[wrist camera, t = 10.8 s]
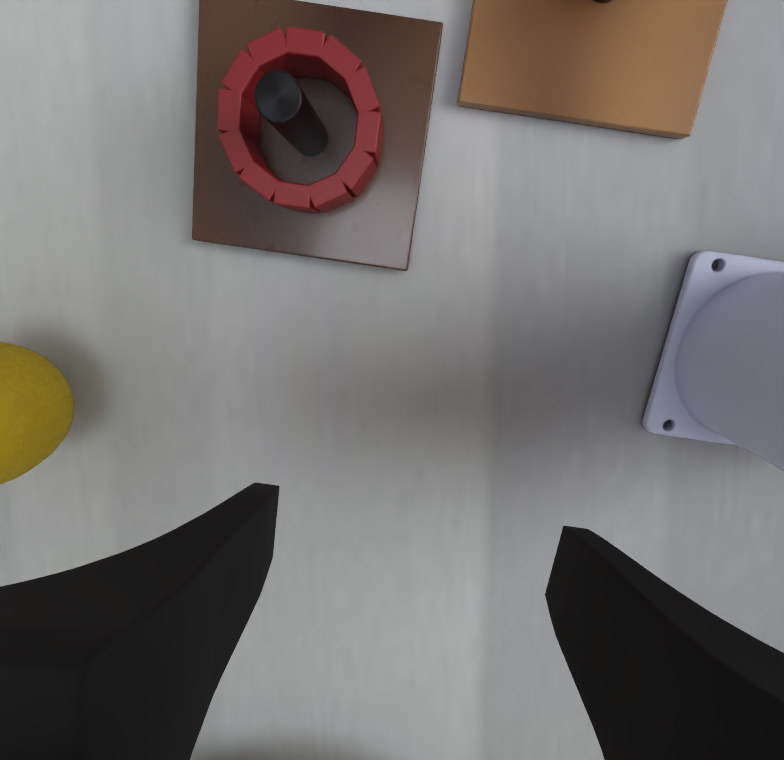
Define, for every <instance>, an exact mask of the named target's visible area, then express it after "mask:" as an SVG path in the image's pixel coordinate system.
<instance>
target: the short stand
mask: <svg viewBox="0 0 784 760" xmlns="http://www.w3.org/2000/svg"><path fill="white" fill-rule="evenodd" d="M726 3H727V0H473V7H472V13H471V19H470V26H469V32H468V38H467V45H466V51H465V57H464V64H463V70H462V76H461V83H460V89H459V96H458V102H457V104H458V105H459V106H464V107H471V108H478V109H484V110H491V111H498V112H504V113H511V114H518V115H524V116H531V117H538V118H545V119H551V120H558V121H565V122H571V123H578V124H585V125H591V126H598V127H605V128H612V129H618V130H625V131H632V132H638V133H645V134H652V135H658V136H665V137H672V138H679V139H683V138H685V137H688V136H690V134H691V131H692V127H693V123H694V120H695V116H696V112H697V109H698V105H699V102H700V98H701V94H702V91H703V87H704V83H705V80H706V76H707V72H708V69H709V65H710V61H711V58H712V54H713V51H714V47H715V43H716V40H717V36H718V32H719V29H720V25H721V21H722V18H723V14H724V10H725V7H726Z"/></svg>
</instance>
